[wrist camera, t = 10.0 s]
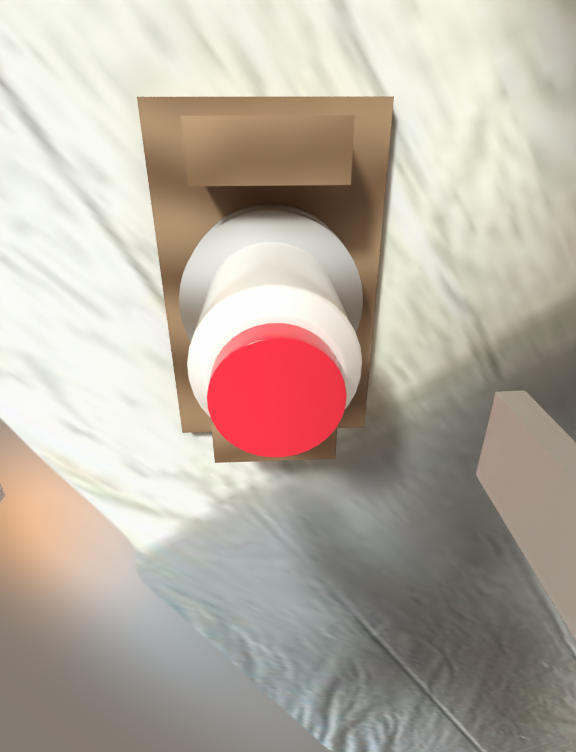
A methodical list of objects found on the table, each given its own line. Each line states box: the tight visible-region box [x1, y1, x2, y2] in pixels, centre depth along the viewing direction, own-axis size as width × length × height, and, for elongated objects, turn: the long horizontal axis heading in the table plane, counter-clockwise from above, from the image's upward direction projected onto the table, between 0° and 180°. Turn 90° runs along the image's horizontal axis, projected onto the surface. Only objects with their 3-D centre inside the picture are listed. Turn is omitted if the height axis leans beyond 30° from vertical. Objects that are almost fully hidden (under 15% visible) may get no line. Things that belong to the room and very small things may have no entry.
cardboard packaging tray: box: [137, 97, 394, 463], centre depth 29 cm, size 22×14×6 cm, turn 0°
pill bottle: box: [187, 242, 362, 457], centre depth 23 cm, size 8×8×11 cm
